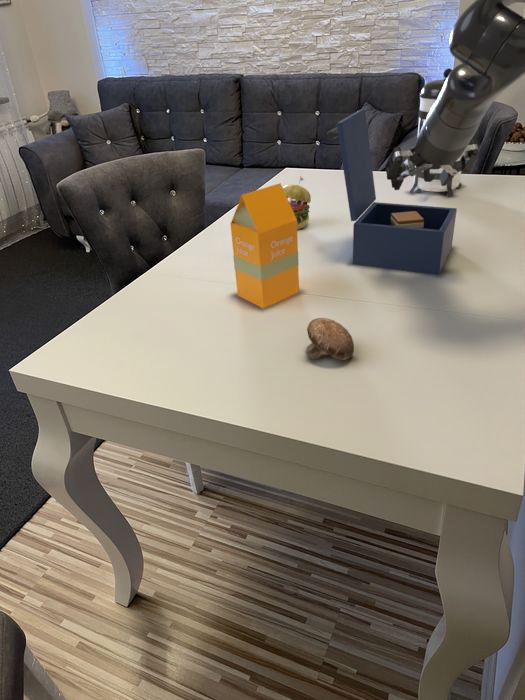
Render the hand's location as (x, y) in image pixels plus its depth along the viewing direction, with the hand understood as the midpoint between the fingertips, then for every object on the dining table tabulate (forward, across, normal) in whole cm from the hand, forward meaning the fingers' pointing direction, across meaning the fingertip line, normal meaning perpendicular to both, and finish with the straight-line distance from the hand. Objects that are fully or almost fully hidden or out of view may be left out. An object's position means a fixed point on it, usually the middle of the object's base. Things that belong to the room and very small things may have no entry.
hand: (418, 183), depth 97 cm
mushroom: (-8, +21, +32) cm, 39 cm away
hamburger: (+32, +20, -8) cm, 39 cm away
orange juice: (+7, +29, +16) cm, 34 cm away
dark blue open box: (+16, 0, +8) cm, 18 cm away
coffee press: (+45, -21, -21) cm, 54 cm away
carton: (+15, 0, +7) cm, 17 cm away
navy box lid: (+6, +8, -8) cm, 13 cm away
